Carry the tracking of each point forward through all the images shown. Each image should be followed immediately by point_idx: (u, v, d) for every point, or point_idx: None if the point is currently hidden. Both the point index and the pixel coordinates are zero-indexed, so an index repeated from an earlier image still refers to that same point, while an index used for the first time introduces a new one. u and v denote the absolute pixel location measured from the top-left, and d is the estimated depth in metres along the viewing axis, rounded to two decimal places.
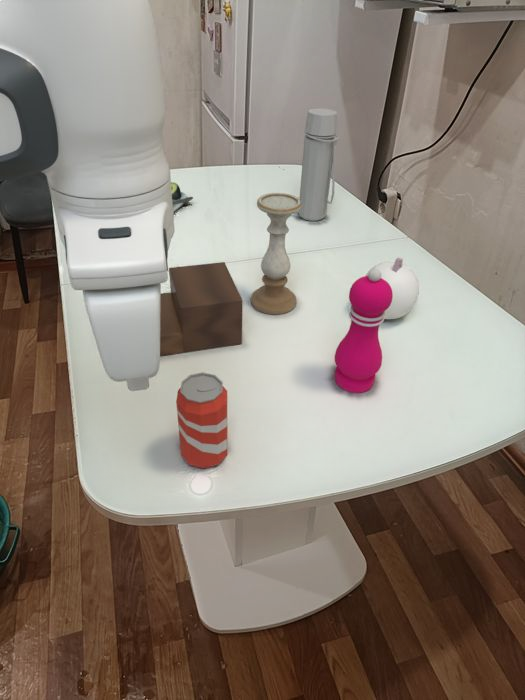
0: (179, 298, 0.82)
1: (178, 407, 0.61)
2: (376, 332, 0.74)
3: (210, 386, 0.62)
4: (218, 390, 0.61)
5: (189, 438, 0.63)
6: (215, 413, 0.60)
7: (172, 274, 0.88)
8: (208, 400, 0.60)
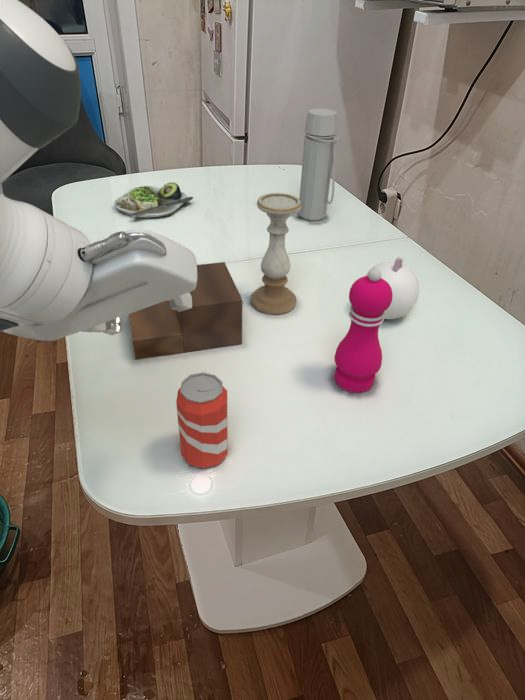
0: None
1: (178, 407, 0.61)
2: (376, 332, 0.74)
3: (210, 386, 0.62)
4: (218, 390, 0.61)
5: (189, 438, 0.63)
6: (215, 413, 0.60)
7: None
8: (208, 400, 0.60)
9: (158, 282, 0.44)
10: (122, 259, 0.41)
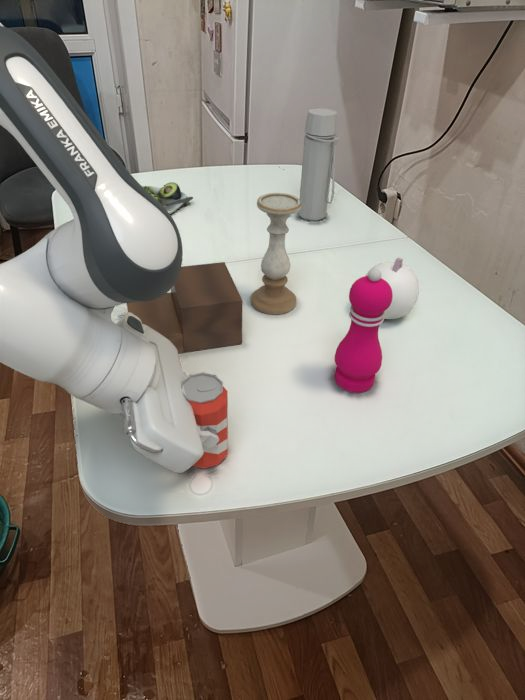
0: (179, 298, 0.82)
1: None
2: (376, 332, 0.74)
3: (210, 386, 0.62)
4: (219, 390, 0.61)
5: None
6: (216, 413, 0.60)
7: None
8: (208, 400, 0.60)
9: None
10: None
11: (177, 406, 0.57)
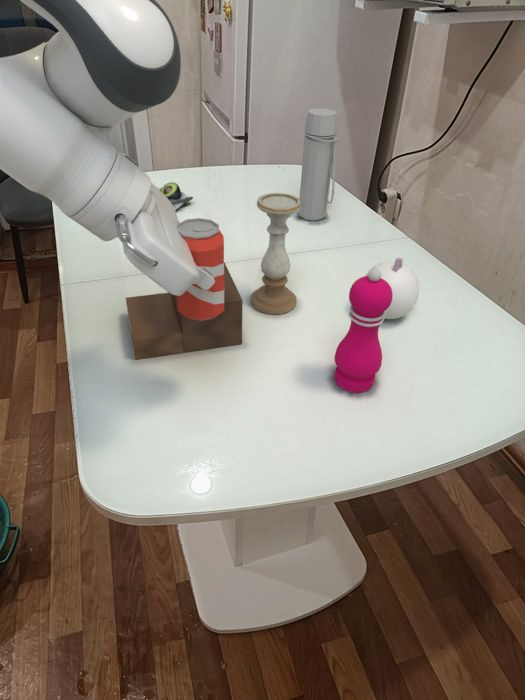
0: None
1: None
2: (376, 332, 0.74)
3: (206, 228, 0.61)
4: (215, 231, 0.61)
5: None
6: (212, 252, 0.60)
7: None
8: (204, 236, 0.59)
9: None
10: (126, 245, 0.52)
11: (173, 236, 0.57)
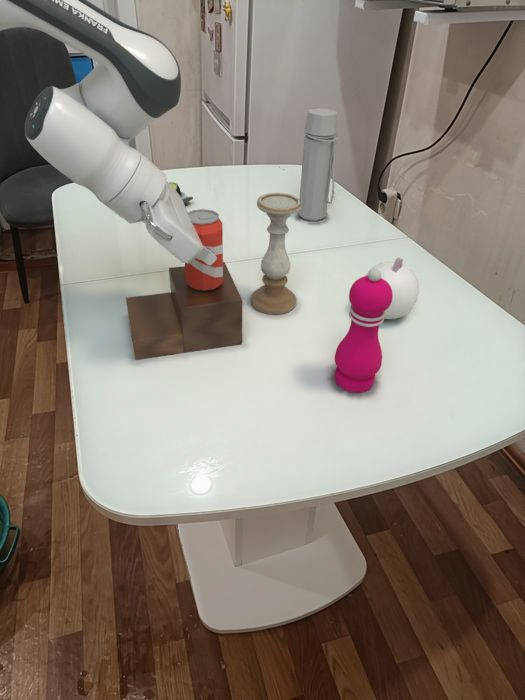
0: (179, 298, 0.82)
1: None
2: (376, 332, 0.74)
3: (209, 216, 0.79)
4: (215, 219, 0.78)
5: None
6: (213, 235, 0.77)
7: (172, 274, 0.88)
8: (207, 223, 0.76)
9: None
10: (149, 224, 0.69)
11: (183, 219, 0.74)
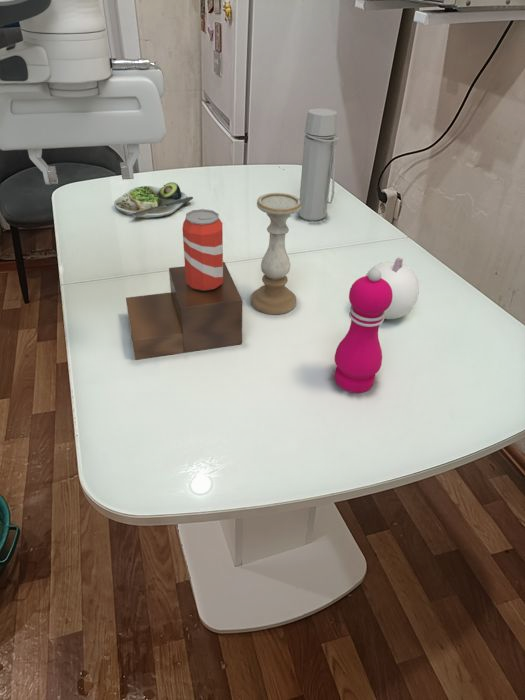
0: (179, 298, 0.82)
1: (184, 232, 0.78)
2: (376, 332, 0.74)
3: (209, 216, 0.79)
4: (215, 219, 0.78)
5: (192, 260, 0.80)
6: (213, 235, 0.77)
7: (172, 274, 0.88)
8: (207, 223, 0.76)
9: (147, 113, 0.62)
10: (139, 77, 0.60)
11: None
